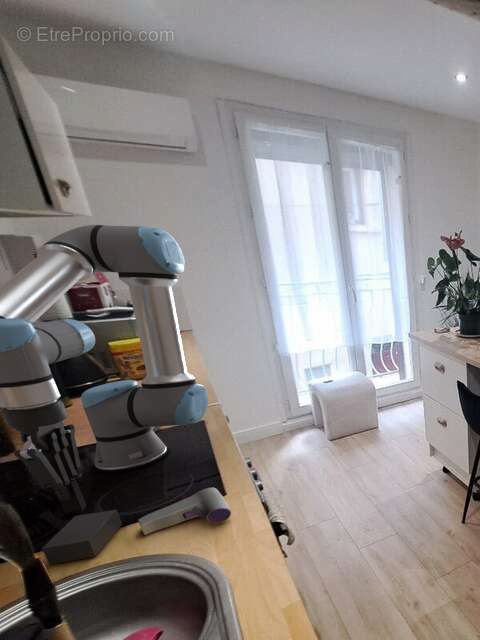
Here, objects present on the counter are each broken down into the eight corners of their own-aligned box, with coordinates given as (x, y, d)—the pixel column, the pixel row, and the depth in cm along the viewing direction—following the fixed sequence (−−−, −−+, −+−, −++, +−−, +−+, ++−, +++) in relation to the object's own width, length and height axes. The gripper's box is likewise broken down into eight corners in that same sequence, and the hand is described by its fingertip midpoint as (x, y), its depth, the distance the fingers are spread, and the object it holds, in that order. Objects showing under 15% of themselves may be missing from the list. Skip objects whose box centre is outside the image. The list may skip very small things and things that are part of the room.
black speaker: (75, 515, 89) (41, 548, 79) (116, 509, 92) (88, 540, 82) (82, 531, 90) (49, 565, 81) (122, 525, 93) (95, 557, 83)
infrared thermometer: (142, 530, 93) (220, 498, 103) (154, 555, 86) (236, 518, 96) (134, 514, 91) (214, 483, 102) (146, 538, 84) (230, 503, 95)
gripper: (28, 393, 81) (70, 495, 89) (-26, 418, 69) (28, 532, 77) (79, 390, 83) (115, 489, 91) (35, 413, 72) (81, 524, 80)
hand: (75, 509), depth 84 cm, fingers closed
